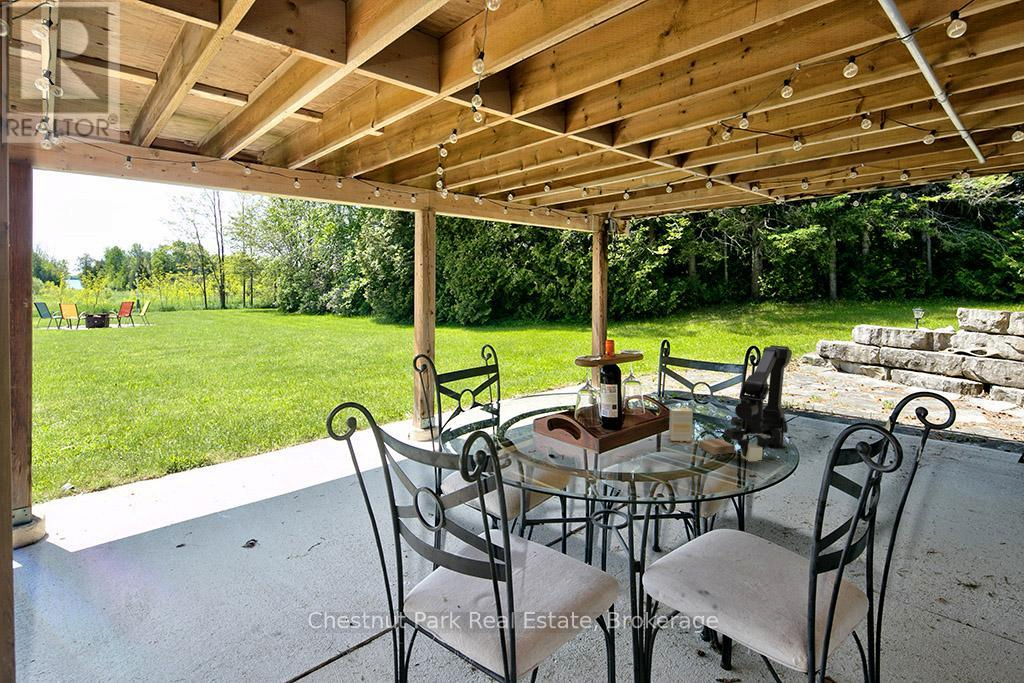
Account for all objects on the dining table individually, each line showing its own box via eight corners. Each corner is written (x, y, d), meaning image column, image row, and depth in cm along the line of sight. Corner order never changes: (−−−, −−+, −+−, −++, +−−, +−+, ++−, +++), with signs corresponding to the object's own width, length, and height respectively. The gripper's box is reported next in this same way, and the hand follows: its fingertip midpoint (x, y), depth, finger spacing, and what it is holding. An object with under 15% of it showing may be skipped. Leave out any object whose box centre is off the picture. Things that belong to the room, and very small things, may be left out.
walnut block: (718, 447, 200) (718, 438, 200) (734, 454, 192) (734, 445, 192) (698, 449, 198) (699, 440, 198) (714, 456, 189) (714, 447, 189)
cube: (753, 456, 189) (754, 443, 188) (761, 461, 184) (762, 447, 183) (740, 457, 188) (741, 443, 188) (748, 461, 183) (749, 448, 183)
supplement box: (688, 439, 210) (690, 407, 208) (691, 442, 205) (693, 410, 204) (668, 438, 210) (669, 407, 209) (670, 441, 206) (672, 410, 204)
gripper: (764, 408, 193) (761, 448, 195) (717, 409, 191) (715, 449, 193) (783, 415, 182) (780, 458, 184) (734, 417, 180) (732, 459, 182)
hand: (751, 456), depth 186 cm, fingers closed on cube, 5 cm apart
